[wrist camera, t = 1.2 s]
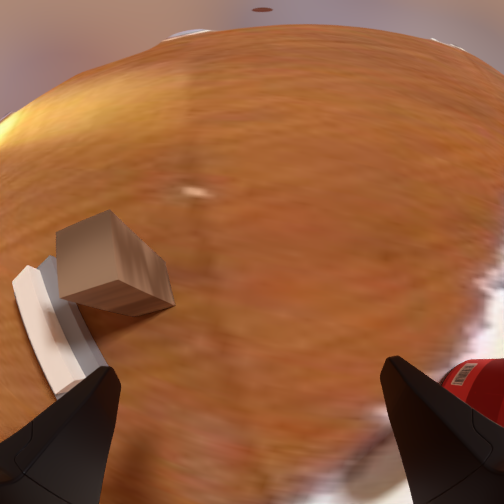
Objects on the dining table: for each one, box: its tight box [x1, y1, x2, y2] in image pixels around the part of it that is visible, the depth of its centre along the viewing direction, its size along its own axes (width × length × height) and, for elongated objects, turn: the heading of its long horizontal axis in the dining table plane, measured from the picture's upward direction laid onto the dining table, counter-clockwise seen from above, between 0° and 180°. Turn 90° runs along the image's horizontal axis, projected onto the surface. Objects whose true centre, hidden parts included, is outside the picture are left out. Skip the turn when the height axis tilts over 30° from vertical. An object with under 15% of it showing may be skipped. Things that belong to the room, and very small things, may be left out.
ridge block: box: [12, 255, 108, 400], centre depth 20 cm, size 13×7×4 cm, turn 37°
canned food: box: [442, 358, 504, 427], centre depth 13 cm, size 8×8×11 cm
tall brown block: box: [56, 210, 175, 317], centre depth 18 cm, size 4×4×10 cm
